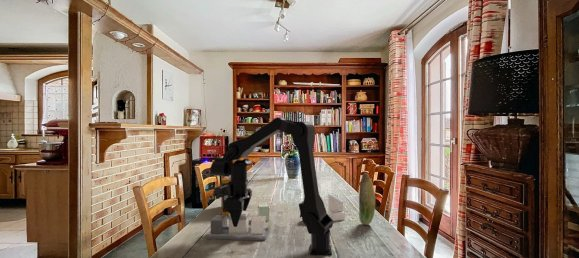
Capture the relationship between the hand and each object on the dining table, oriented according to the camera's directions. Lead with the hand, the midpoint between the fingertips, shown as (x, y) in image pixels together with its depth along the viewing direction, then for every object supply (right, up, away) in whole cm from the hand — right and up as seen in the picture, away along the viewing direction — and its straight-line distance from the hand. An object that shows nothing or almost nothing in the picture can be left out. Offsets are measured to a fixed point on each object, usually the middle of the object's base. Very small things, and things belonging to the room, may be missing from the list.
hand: (238, 222), depth 102 cm
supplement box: (-8, -5, +32) cm, 33 cm away
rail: (0, -4, 0) cm, 5 cm away
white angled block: (+37, -5, +19) cm, 42 cm away
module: (0, -4, 0) cm, 4 cm away
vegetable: (+48, -5, +11) cm, 49 cm away
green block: (+7, -5, +18) cm, 20 cm away
